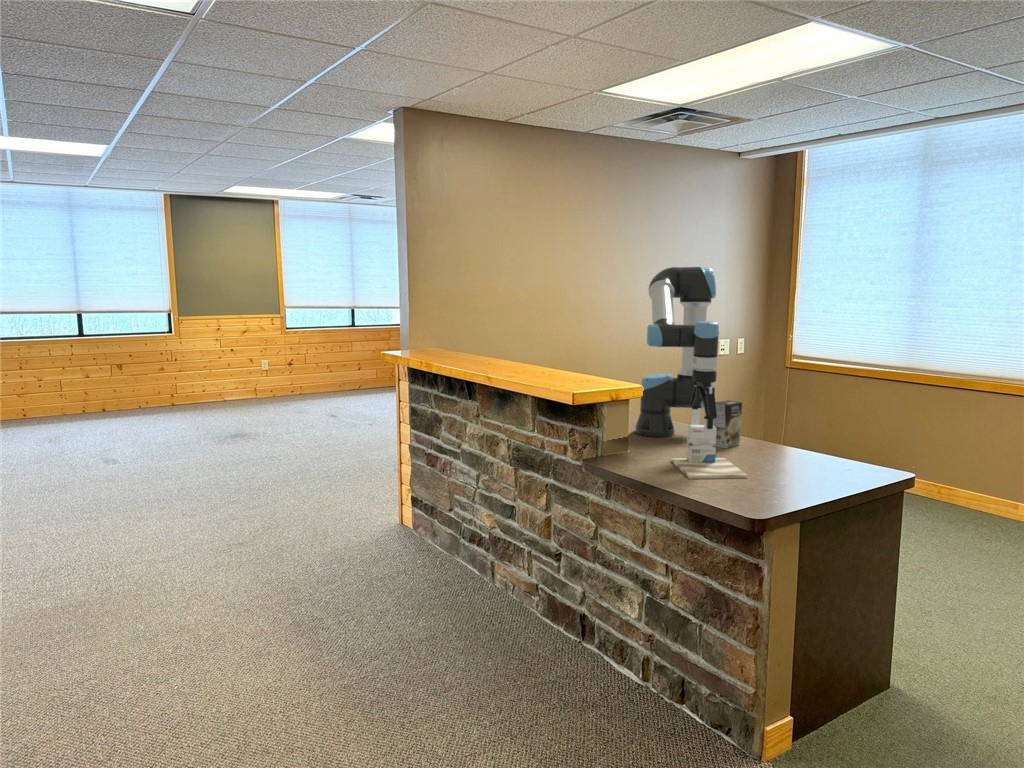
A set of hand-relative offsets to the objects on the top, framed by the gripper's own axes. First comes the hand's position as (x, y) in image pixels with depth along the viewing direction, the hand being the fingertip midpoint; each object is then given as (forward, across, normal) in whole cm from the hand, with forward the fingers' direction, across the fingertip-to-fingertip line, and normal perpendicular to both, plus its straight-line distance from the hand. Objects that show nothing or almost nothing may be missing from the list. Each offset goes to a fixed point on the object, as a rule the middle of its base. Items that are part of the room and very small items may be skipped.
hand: (701, 433), depth 226 cm
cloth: (+10, +8, 0) cm, 13 cm away
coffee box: (+11, -23, +17) cm, 31 cm away
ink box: (+9, +1, 0) cm, 9 cm away
